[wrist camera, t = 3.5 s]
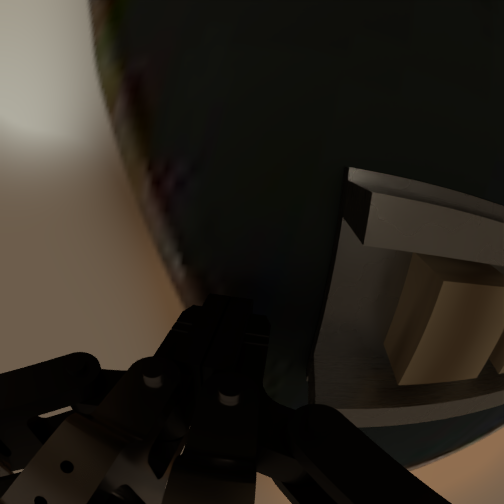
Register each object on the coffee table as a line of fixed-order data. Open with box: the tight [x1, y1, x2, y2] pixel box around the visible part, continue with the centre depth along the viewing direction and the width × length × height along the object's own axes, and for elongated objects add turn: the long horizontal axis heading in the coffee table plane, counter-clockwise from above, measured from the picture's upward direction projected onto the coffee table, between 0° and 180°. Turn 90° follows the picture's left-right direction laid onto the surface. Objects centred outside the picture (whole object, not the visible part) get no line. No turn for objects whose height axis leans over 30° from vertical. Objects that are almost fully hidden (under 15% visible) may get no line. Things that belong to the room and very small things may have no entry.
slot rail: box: [306, 167, 504, 427], centre depth 9 cm, size 20×11×4 cm, turn 86°
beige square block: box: [383, 252, 504, 385], centre depth 10 cm, size 5×5×3 cm
